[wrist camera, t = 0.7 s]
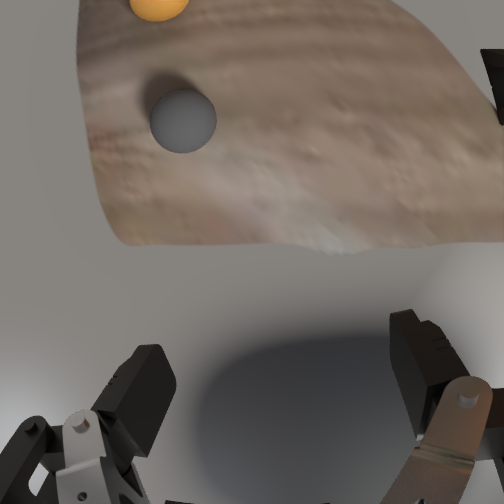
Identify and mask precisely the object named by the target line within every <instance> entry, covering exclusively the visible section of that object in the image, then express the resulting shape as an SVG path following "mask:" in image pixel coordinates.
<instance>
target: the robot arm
mask: <svg viewBox="0 0 504 504" xmlns="http://www.w3.org/2000/svg"><path fill="white" fill-rule="evenodd" d="M389 322H390V323H389V324H390V325H389V331H390V332H389V333H390V334H389V335H390V336H389V339H390V340H389V354H390V362H391V366H392V370H393V372H394V375H395V378H396V381H397V383H398V386H399V389H400V392H401V395H402V398H403V401H404V404H405V407H406V410H407V413H408V415H409V419H410V422H411V425H412V428H413V432H414V435H415V438H416V440H420V439H422V440H421V442H420V444H419V446H418V447H415V448H414V450H413V451H412V453H411V454H410V456H409V458H408V459H407V461H406V463H405V465H404V466H403V468H402V470H401V471H400V473H399V475H398V476H397V478H396V480H395V481H394V483H393V484H392V486H391V488H390V489H389V491H388V492H387V494H386V495H385V497H384V498H383V500H382V501H381V503H380V504H459V502H460V499H461V497H462V495H463V492H464V490H465V488H466V486H467V483H468V481H469V478H470V476H471V473H472V470H473V468H474V464H475V461H479V460H490V459H493V460H494V463H495V466H496V469H497V472H498V475H499V478H500V482H501V485H502V488H503V492H504V388H498V389H494V388H491V387H490V386H489V384H488V383H487V382H486V381H484V380H483V379H481V378H478V377H474V376H470V374H469V372H468V371H467V369H466V367H465V366H464V364H463V363H462V361H461V359H460V358H459V356H458V355H457V353H456V351H455V350H454V348H453V347H451V344H450V342H449V340H448V339H446V336H445V334H444V333H443V331H442V330H441V328H440V327H438V326H437V325H436V324H434V323H432V322H431V321H429V320H427V321H423V322H420V320H419V319H418V317H417V316H416V314H415V313H414V311H413V310H412V309H408V310H404V311H399V312H394V313H391V314H390V319H389ZM175 391H176V378H175V375H174V373H173V371H172V369H171V366H170V364H169V362H168V360H167V358H166V355H165V353H164V351H163V349H162V347H161V346H160V345H159V344H151V345H139V346H138V347H137V349H136V350H135V351H134V353H133V355H132V356H131V357H130V358H129V359H128V360H127V361H125V362H124V363H123V364H122V365H121V366H119V368H118V369H117V371H116V372H115V373H114V375H113V378H111V379H110V381H109V382H108V385H106V387H105V388H104V390H103V391H102V393H101V394H100V396H99V397H98V399H97V400H96V402H95V403H94V405H93V407H92V408H91V410H81V411H78V412H76V413H74V414H72V415H71V416H70V417H69V418H68V419H67V420H66V421H65V423H64V425H61V426H50V425H49V424H48V423H47V421H46V420H45V419H44V418H43V417H42V416H33V417H30V418H28V419H26V420H25V421H24V422H22V423H21V425H20V426H19V427H18V429H17V430H16V432H15V433H14V435H13V436H12V437H11V439H10V440H9V442H8V443H7V445H6V446H5V448H4V449H3V451H2V452H1V454H0V504H151V503H150V501H149V499H148V497H147V494H146V492H145V489H144V487H143V484H142V482H141V479H140V477H139V474H138V471H137V469H136V466H135V464H134V463H133V462H132V460H133V457H134V456H139V457H148V455H149V452H150V450H151V448H152V445H153V443H154V440H155V438H156V436H157V434H158V431H159V429H160V426H161V424H162V422H163V420H164V417H165V415H166V413H167V410H168V408H169V406H170V403H171V401H172V399H173V396H174V394H175ZM39 462H40V463H41V464H42V465H43V466H44V467H45V468H46V470H47V471H48V472H49V474H48V476H47V477H46V479H45V481H44V483H43V485H42V487H41V489H40V491H39V492H38V494H37V496H35V495H33V494H32V493H31V491H30V489H29V486H28V483H29V480H30V478H31V476H32V474H33V472H34V471H35V469H36V467H37V465H38V464H39ZM165 504H191V503H182V502H175V501H168V500H166V501H165ZM325 504H330V503H325Z"/></svg>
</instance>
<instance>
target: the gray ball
mask: <svg viewBox="0 0 504 504" xmlns="http://www.w3.org/2000/svg"><path fill="white" fill-rule="evenodd" d="M150 127H151V132H152V134H153V136H154V138H155V140H156V141H157V142H158V143H159V144H160V145H161V146H162V147H163V148H165V149H166V150H169V151H171V152H175V153H189V152H193V151H195V150H198V149H199V148H201V147H203V146H204V145H205V144H206V143H207V142H208V141H209V140H210V138H211V137H212V135H213V133H214V131H215V127H216V112H215V109H214V107H213V105H212V103H211V102H210V100H209V99H208V98H207V97H206V96H204V95H203V94H202V93H200V92H198V91H195V90H190V89H179V90H175V91H172V92H170V93H168V94H166V95H165V96H163V97H162V98H161V99H160V100H159V101H158V102H157V103H156V105H155V106H154V108H153V111H152V113H151V118H150Z"/></svg>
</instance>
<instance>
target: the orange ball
mask: <svg viewBox="0 0 504 504" xmlns="http://www.w3.org/2000/svg"><path fill="white" fill-rule="evenodd" d="M129 1H130V6H131V8H132V10H133V11H134V13H135V14H136V15H137V16H139V17H140V18H142V19H144V20H147V21H152V22H160V21H165V20H169V19H171V18H173V17H175V16H177V15H178V14H179V13H181V12H182V11H183V10H184V8H185V7H186V6H187V4H188V2H189V0H129Z"/></svg>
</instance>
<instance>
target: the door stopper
mask: <svg viewBox="0 0 504 504" xmlns="http://www.w3.org/2000/svg"><path fill="white" fill-rule="evenodd" d="M480 52H481V55H482V58H483V61H484V64H485V67H486V71H487V74H488V77H489V81H490V84H491V86H492V92H493V95H494V99H495V103H496V107H497V112H498V116H499V121H500V124H501V125H502V126H503V125H504V49H481V50H480Z"/></svg>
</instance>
